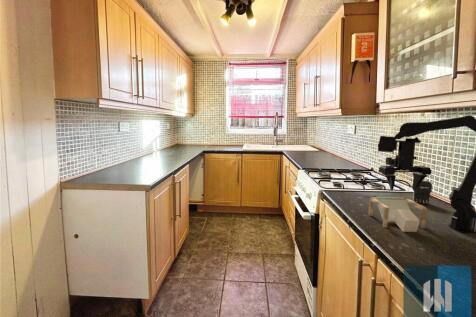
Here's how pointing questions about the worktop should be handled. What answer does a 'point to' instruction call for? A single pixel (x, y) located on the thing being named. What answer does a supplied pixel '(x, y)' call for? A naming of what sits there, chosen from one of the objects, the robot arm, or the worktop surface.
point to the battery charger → (422, 192)
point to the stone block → (406, 220)
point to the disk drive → (384, 196)
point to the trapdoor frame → (386, 209)
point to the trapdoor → (393, 207)
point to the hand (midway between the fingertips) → (402, 190)
